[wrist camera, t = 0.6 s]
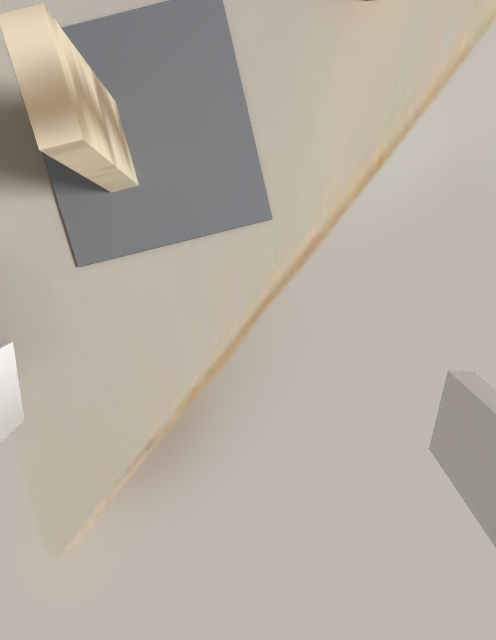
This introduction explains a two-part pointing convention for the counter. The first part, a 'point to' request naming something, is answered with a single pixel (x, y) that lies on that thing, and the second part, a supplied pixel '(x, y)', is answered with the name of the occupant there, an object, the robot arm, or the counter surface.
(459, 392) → the robot arm
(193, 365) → the counter surface
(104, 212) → the mat
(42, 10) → the birch block
